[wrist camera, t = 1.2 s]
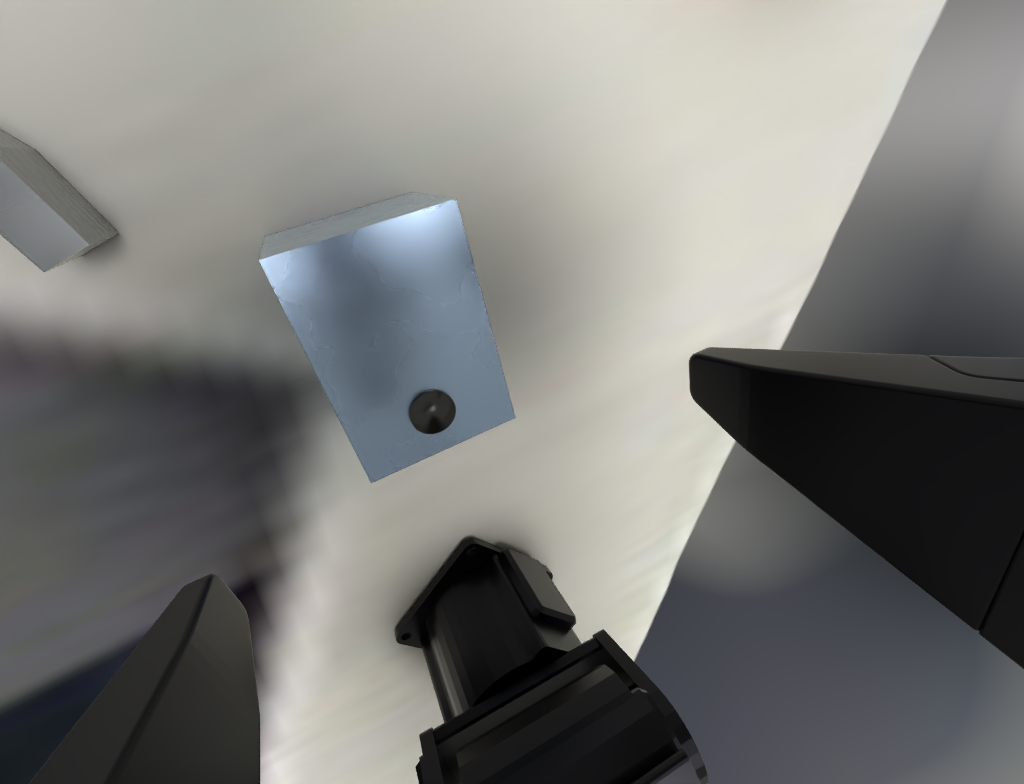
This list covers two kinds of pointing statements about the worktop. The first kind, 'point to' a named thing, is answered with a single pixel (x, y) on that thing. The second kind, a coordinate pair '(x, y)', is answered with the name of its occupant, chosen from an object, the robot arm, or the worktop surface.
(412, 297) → the block
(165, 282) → the worktop surface
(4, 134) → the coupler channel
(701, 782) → the robot arm
